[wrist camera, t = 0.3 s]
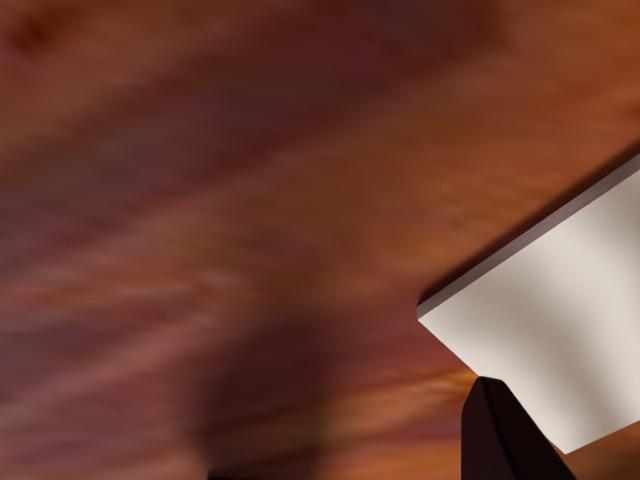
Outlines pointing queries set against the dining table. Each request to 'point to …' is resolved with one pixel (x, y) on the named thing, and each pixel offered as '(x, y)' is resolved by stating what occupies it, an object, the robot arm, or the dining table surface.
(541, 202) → the dining table surface
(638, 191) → the ring stand
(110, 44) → the dining table surface
